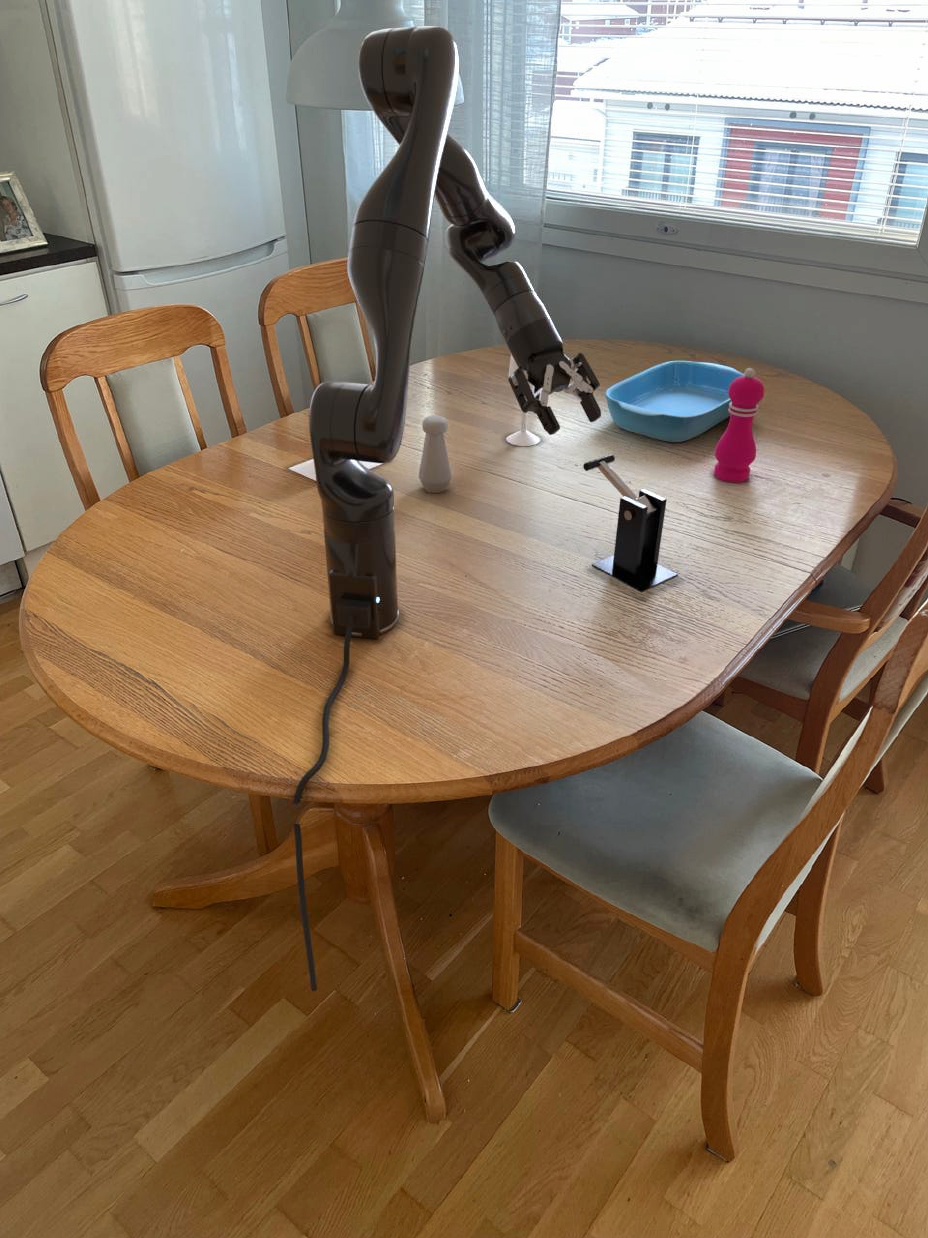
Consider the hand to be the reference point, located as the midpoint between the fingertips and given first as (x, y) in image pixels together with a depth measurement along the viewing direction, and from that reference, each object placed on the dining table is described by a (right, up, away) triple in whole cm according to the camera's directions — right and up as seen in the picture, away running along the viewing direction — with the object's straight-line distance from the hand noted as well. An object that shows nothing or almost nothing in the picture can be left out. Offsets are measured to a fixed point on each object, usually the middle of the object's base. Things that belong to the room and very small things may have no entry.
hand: (576, 425), depth 137 cm
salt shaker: (-22, -6, +27) cm, 35 cm away
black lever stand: (+9, -22, +1) cm, 24 cm away
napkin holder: (-40, 0, +35) cm, 53 cm away
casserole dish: (+28, +14, +57) cm, 65 cm away
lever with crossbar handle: (+6, -10, -2) cm, 12 cm away
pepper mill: (+32, -2, +33) cm, 46 cm away
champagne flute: (-5, +7, +46) cm, 47 cm away
